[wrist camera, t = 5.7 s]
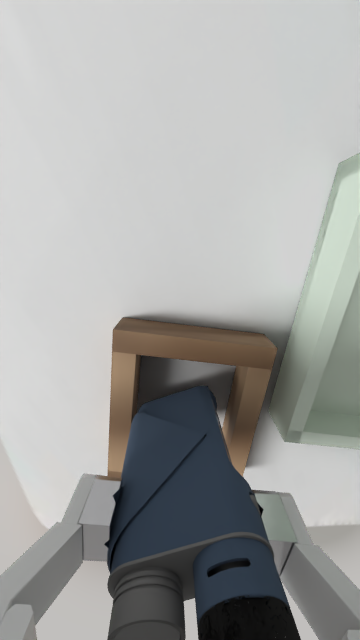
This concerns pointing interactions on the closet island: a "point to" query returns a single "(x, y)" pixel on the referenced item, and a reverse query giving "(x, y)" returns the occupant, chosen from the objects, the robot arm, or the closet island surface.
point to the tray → (326, 331)
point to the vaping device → (190, 533)
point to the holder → (195, 345)
